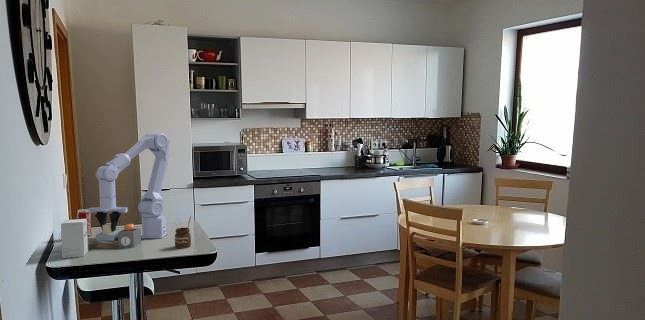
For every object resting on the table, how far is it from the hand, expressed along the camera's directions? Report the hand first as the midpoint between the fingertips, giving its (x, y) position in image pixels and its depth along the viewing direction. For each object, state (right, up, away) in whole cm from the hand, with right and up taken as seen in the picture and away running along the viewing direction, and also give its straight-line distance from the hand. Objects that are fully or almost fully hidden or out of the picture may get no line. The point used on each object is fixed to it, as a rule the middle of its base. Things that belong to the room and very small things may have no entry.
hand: (109, 231), depth 181 cm
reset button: (+8, 0, 0) cm, 8 cm away
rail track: (-3, -6, 0) cm, 7 cm away
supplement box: (-6, -7, -13) cm, 16 cm away
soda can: (-17, -5, +14) cm, 23 cm away
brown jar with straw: (+30, -6, -3) cm, 31 cm away
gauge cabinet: (+8, -6, 0) cm, 10 cm away
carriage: (0, -3, 0) cm, 3 cm away
